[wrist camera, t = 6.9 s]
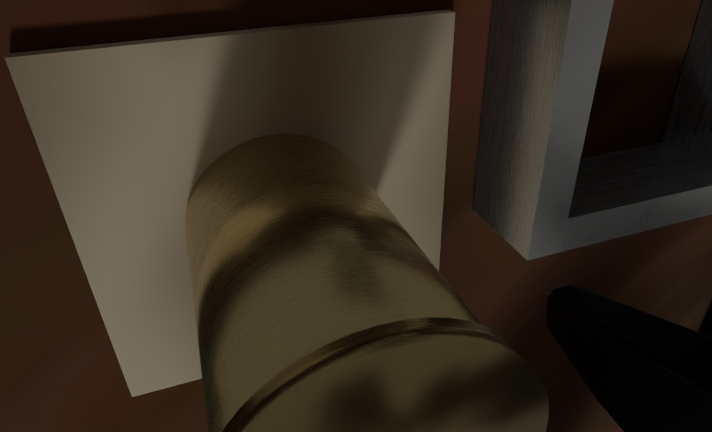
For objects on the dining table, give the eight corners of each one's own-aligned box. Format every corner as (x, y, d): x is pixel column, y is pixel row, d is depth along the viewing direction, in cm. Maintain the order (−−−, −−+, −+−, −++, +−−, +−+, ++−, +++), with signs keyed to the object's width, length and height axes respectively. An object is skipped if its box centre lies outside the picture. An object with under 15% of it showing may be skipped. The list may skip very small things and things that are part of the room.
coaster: (447, 9, 13) (455, 12, 13) (430, 308, 19) (435, 315, 18) (9, 53, 11) (4, 57, 10) (132, 387, 16) (131, 397, 16)
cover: (371, 111, 14) (577, 299, 7) (374, 276, 16) (524, 520, 10) (154, 144, 12) (162, 417, 6) (198, 318, 15) (236, 636, 8)
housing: (762, -105, 15) (884, -107, 12) (677, 165, 19) (754, 203, 17) (502, -93, 13) (587, -93, 10) (472, 209, 17) (527, 260, 14)
